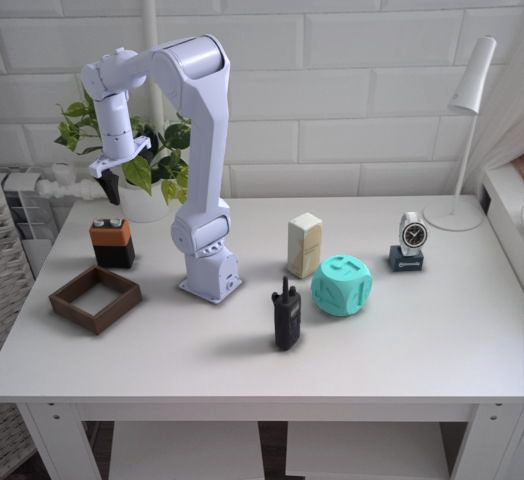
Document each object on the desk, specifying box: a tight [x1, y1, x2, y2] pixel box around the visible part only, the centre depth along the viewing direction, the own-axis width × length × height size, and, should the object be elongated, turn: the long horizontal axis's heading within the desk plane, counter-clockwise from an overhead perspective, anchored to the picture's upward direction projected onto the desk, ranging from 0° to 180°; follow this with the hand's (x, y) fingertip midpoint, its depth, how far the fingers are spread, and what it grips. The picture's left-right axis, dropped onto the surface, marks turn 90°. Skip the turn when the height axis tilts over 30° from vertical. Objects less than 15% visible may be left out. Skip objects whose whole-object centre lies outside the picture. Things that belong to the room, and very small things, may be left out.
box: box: [286, 211, 323, 279], centre depth 118 cm, size 5×4×11 cm
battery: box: [88, 217, 136, 270], centre depth 121 cm, size 4×7×10 cm, turn 86°
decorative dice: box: [310, 254, 373, 317], centre depth 111 cm, size 8×8×8 cm
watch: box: [388, 211, 430, 273], centre depth 118 cm, size 6×8×11 cm
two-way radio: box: [270, 275, 302, 351], centre depth 102 cm, size 6×4×15 cm
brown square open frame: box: [47, 263, 144, 336], centre depth 114 cm, size 12×12×4 cm
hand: (128, 194), depth 124 cm, fingers open, 7 cm apart
